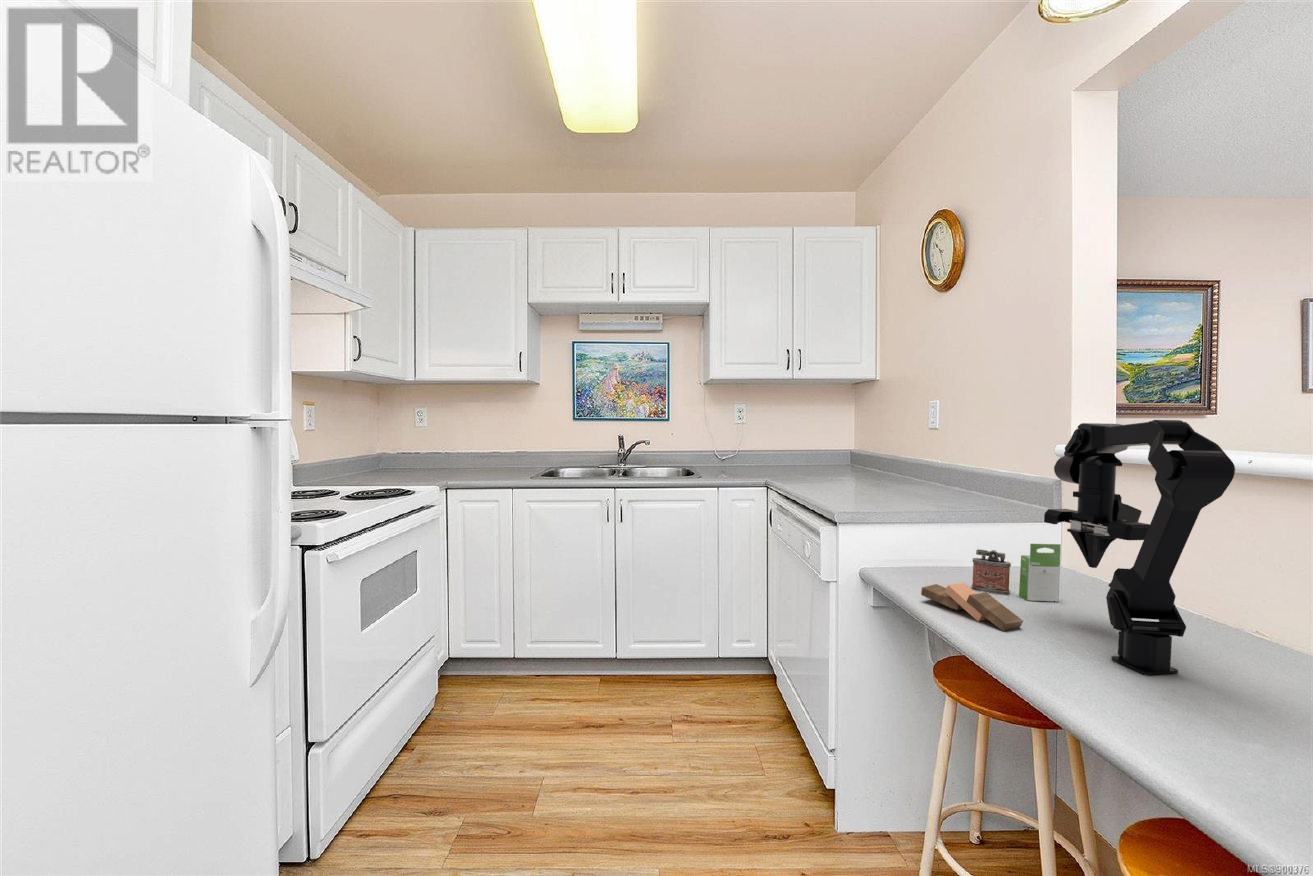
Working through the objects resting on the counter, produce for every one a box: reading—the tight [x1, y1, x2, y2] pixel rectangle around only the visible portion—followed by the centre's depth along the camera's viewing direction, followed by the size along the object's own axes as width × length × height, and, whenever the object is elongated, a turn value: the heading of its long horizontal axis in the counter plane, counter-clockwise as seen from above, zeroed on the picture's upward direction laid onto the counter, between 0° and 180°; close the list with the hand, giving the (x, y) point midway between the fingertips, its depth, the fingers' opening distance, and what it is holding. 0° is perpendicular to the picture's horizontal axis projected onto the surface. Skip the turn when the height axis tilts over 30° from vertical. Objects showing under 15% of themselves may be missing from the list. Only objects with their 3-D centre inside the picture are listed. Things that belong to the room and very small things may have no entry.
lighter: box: [971, 548, 1012, 596], centre depth 144 cm, size 8×3×10 cm, turn 58°
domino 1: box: [920, 583, 965, 611], centre depth 132 cm, size 2×5×9 cm
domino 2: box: [945, 581, 988, 622], centre depth 126 cm, size 2×5×9 cm
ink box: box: [1018, 543, 1062, 603], centre depth 138 cm, size 7×4×13 cm, turn 84°
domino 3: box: [966, 592, 1024, 632], centre depth 121 cm, size 2×5×9 cm
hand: (1092, 567), depth 116 cm, fingers closed
